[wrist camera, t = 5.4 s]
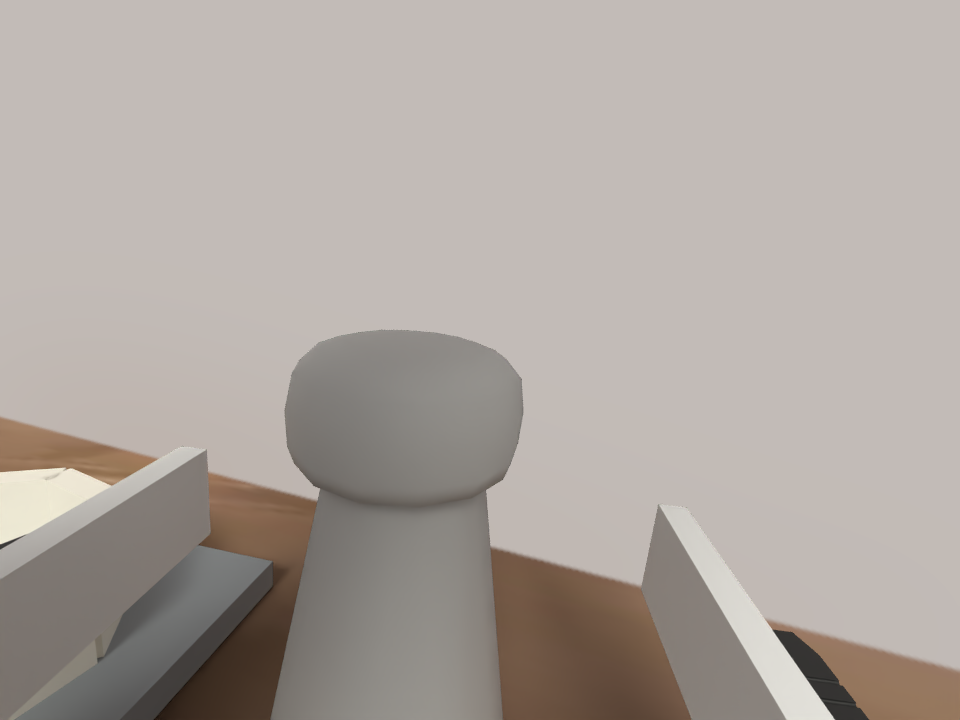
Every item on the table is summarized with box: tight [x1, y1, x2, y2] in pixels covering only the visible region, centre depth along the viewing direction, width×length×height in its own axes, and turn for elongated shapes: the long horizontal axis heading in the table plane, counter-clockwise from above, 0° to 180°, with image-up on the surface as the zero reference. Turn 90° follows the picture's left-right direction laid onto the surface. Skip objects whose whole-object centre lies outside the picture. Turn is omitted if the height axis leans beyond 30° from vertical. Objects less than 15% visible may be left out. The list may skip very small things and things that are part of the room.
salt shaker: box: [270, 330, 523, 720], centre depth 10 cm, size 6×6×13 cm
